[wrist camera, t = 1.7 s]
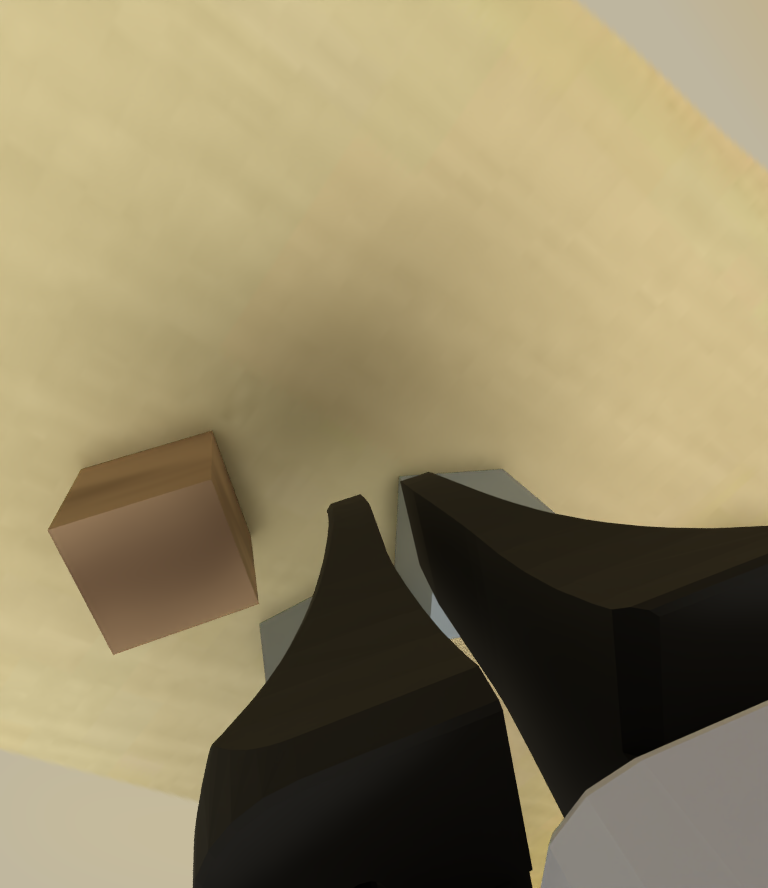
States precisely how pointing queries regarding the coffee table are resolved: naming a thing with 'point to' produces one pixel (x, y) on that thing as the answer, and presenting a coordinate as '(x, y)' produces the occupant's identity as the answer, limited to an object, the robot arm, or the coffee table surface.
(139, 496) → the plain walnut block
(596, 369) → the coffee table surface
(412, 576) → the labelled block
